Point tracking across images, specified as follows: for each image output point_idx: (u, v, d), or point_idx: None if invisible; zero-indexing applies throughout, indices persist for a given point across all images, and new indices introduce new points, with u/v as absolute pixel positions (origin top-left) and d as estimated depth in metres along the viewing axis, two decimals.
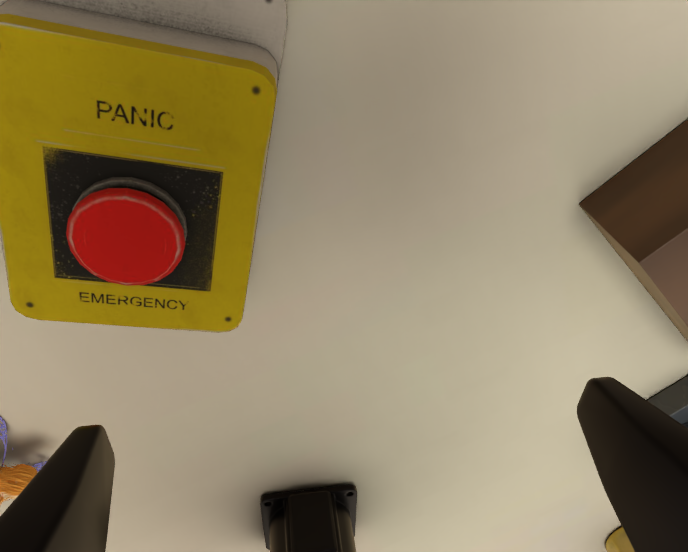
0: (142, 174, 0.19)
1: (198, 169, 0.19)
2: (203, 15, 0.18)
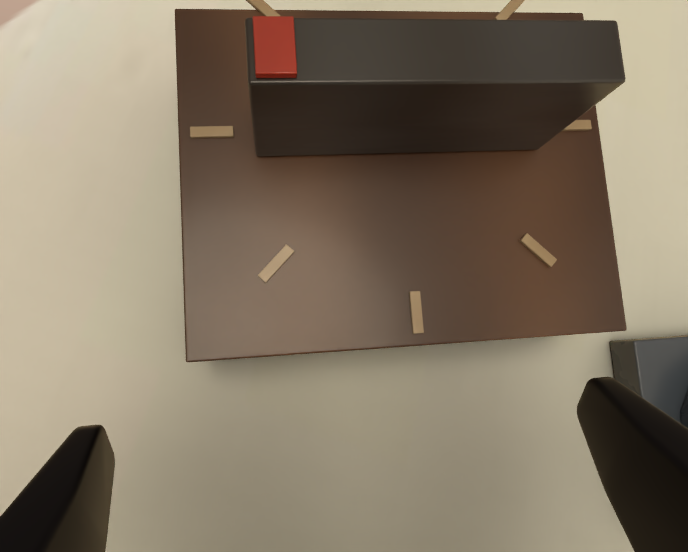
0: None
1: None
2: None
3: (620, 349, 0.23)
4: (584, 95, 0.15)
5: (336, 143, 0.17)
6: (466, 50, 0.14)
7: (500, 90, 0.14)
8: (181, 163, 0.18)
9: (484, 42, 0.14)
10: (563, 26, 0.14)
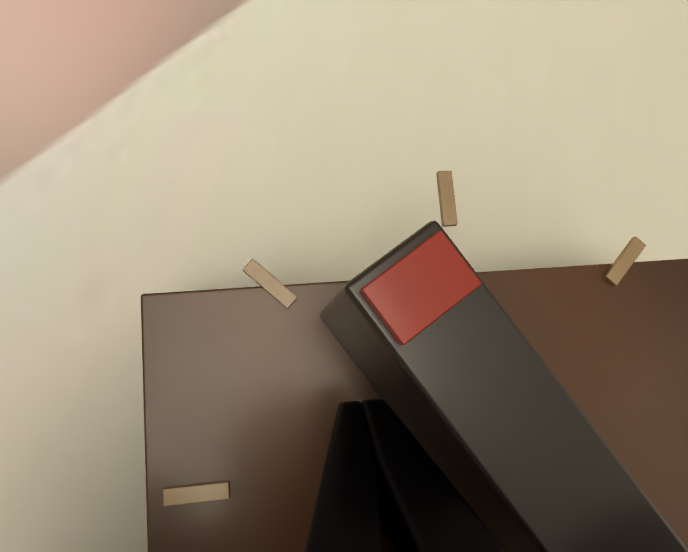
0: None
1: None
2: None
3: None
4: None
5: (394, 407, 0.12)
6: None
7: None
8: (150, 547, 0.12)
9: None
10: None
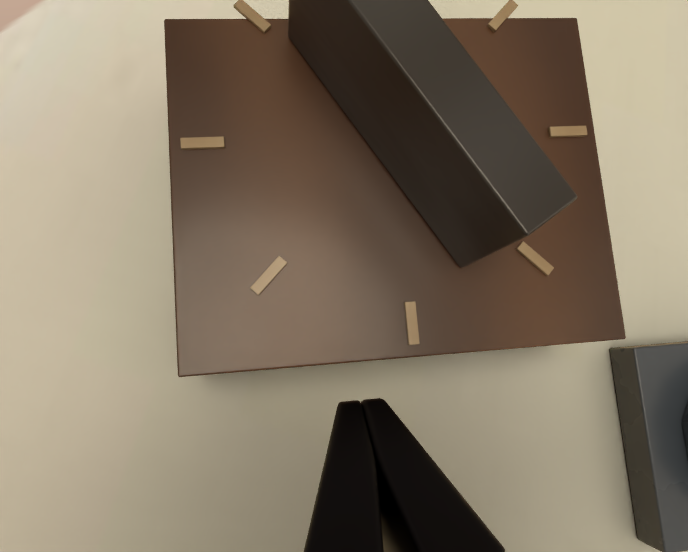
0: None
1: None
2: None
3: (620, 356, 0.23)
4: (496, 219, 0.14)
5: (334, 80, 0.17)
6: (447, 77, 0.14)
7: (440, 134, 0.14)
8: (172, 175, 0.17)
9: (467, 89, 0.14)
10: (534, 150, 0.14)
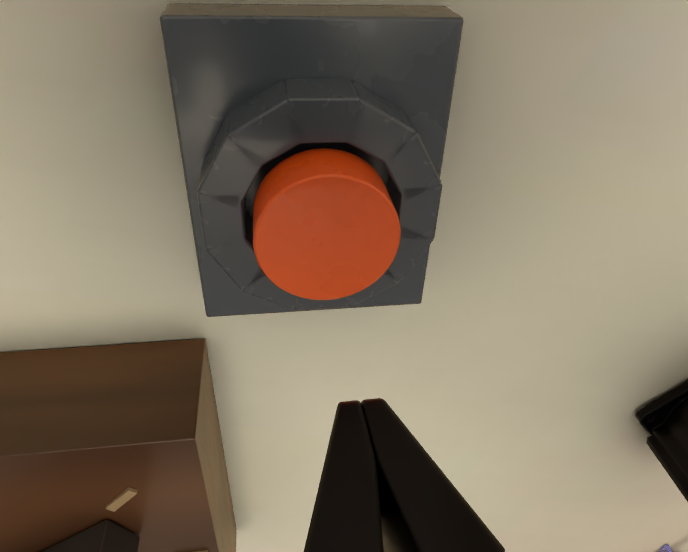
0: None
1: None
2: None
3: None
4: None
5: None
6: None
7: None
8: None
9: None
10: None
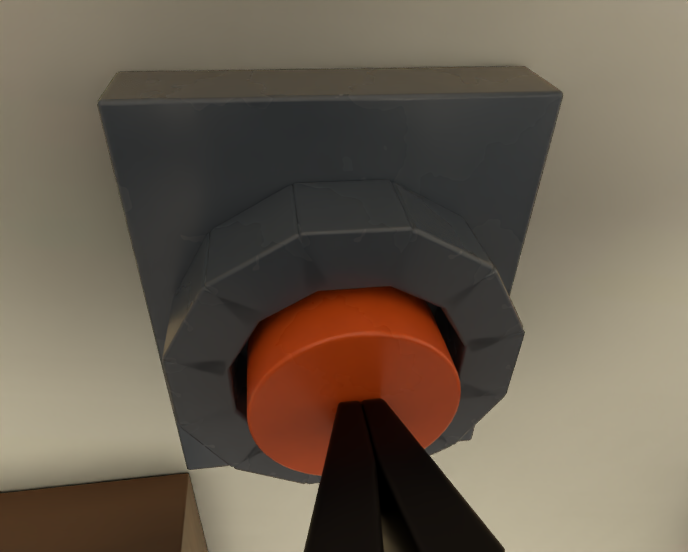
0: None
1: None
2: None
3: None
4: None
5: None
6: None
7: None
8: None
9: None
10: None
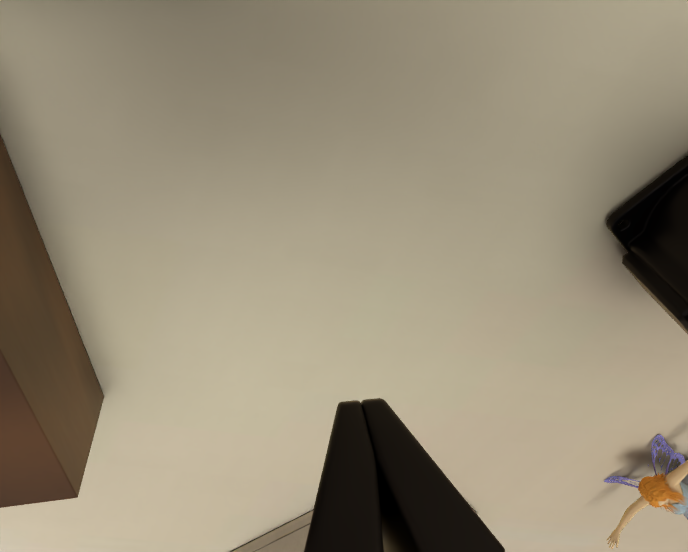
0: None
1: None
2: None
3: None
4: None
5: None
6: None
7: None
8: None
9: None
10: None
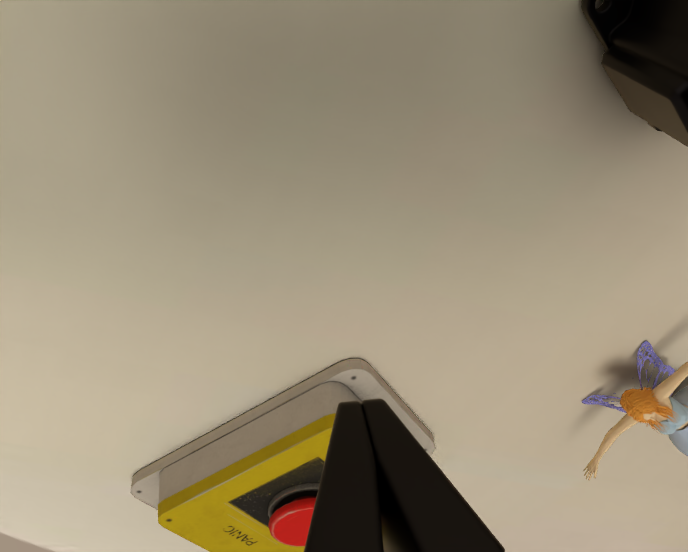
0: (268, 518, 0.28)
1: (238, 508, 0.27)
2: None
3: None
4: None
5: None
6: None
7: None
8: None
9: None
10: None
